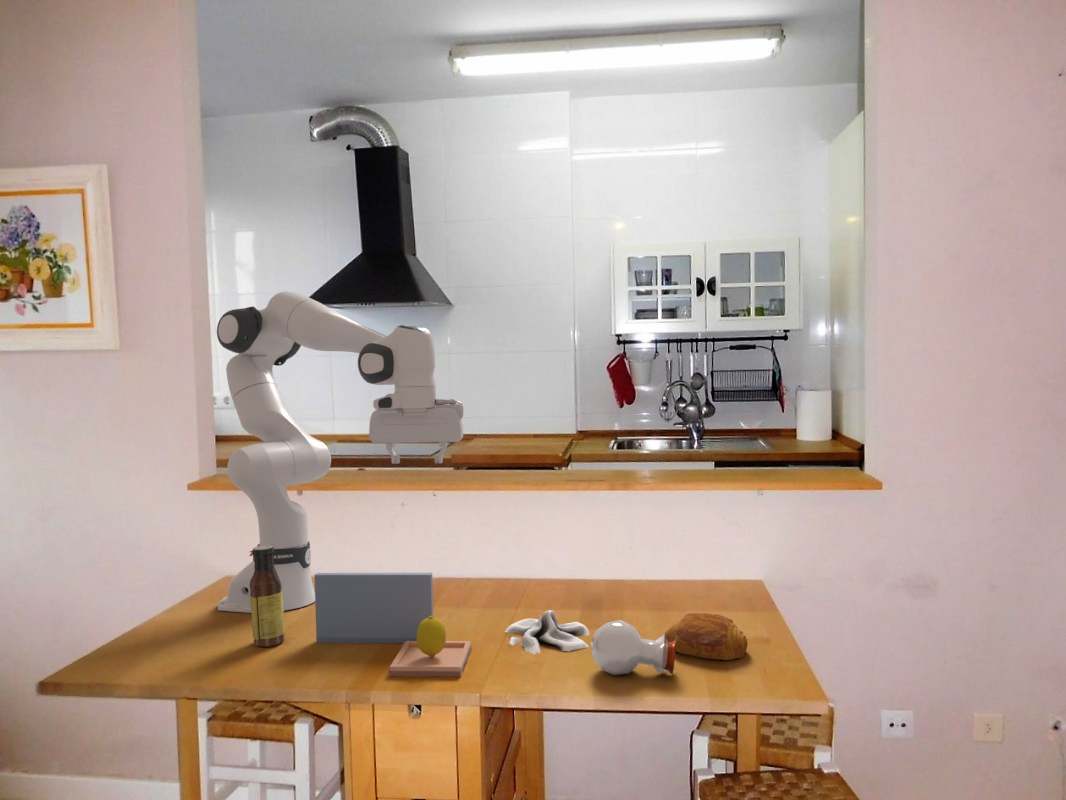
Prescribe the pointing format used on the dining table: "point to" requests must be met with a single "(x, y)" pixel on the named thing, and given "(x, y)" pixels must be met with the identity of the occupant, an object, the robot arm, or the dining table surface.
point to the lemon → (431, 636)
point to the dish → (431, 660)
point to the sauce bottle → (266, 600)
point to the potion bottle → (630, 649)
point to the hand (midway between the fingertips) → (417, 463)
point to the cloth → (548, 633)
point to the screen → (371, 606)
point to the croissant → (707, 637)
